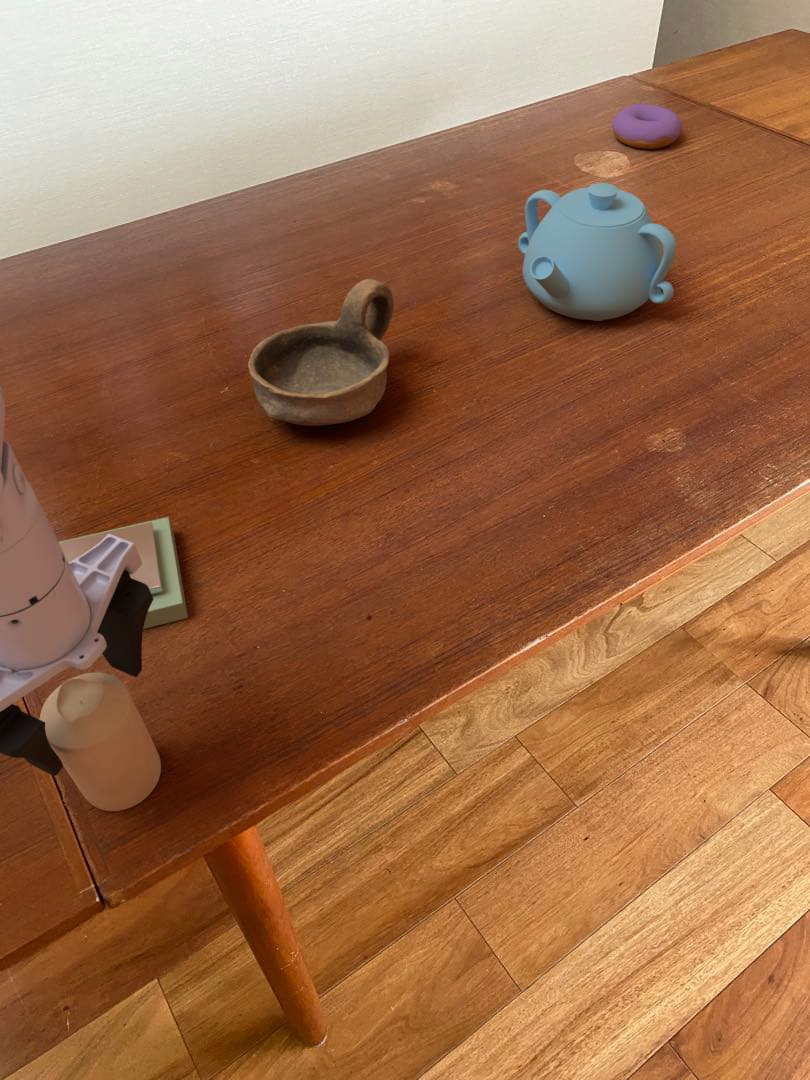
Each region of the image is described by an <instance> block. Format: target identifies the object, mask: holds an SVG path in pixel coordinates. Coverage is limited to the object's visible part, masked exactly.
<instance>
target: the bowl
mask: <svg viewBox="0 0 810 1080" xmlns="http://www.w3.org/2000/svg"><path fill="white" fill-rule="evenodd" d="M394 307H395V306H394V296H393V292H392V289H390V287H389V286H388V285H387V284H385V283H384V282H382V281H380V280H378V279H374V278H366V279H363V280H360V281H359V282H358V283H356V284H355V285H354V286H353V287H352V288H351V289H350V291H348V293H347V294H346V297H345V298H344V301H343V304H342V308H341V310H340V311H341V312H340V315H339V318H338V319H337V320H333V321H332V320H331V321H330V320H329V321H322V322H315V323H307V324H300V325H297V326H293V327H290V328H287V329H283V330H280V331H277V332H275V333H272V334H271V335H270V336H268V337H266V338H264V339H263V340H261V341H260V342H259V343H258V344H256V346H255V347H254V348H253V349H252V351H251V354H250V357H249V359H248V364H247V367H248V372H249V375H250V377H251V379H252V386H253V391H254V394H255V397H256V399H257V402H258V404H259V405H260V407H261V408H262V410H263V411H264V412H265V414H266V415H267V416H268V417H269V418H271V419H272V420H277V421H281V422H286V423H289V424H293V425H299V426H309V427H311V426H313V427H314V426H319V427H320V426H328V425H329V426H330V425H336V424H343V423H348V422H351V421H354V420H357V419H360V418H363V417H365V416H367V415H369V414H370V413H372V411H374V410H375V408H376V406H377V404H378V403H379V402H380V401H381V399H382V398H383V396H384V394H385V391H386V387H387V382H388V381H387V379H388V373H387V372H388V371H387V368H388V365H389V361H390V349H389V348H388V346H387V345H386V344H385V342H383V341H382V340H383V338H384V336H385V334H386V333H387V331H388V329H389V327H390V324H391V320H392V318H393V315H394V314H393V313H394ZM366 312H367V313H366Z"/></svg>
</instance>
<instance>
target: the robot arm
mask: <svg viewBox="0 0 810 1080" xmlns="http://www.w3.org/2000/svg"><path fill="white" fill-rule="evenodd" d="M5 421H6V405H5V395H4V392H3V388H2V386H1V385H0V754H2V755H4V756H8V757H11V758H14V759H24V760H25V761H26V762H27V763H28V764H30V765H31V766H33V767H35V768H37V769H39V770H40V771H43V772H45V773H47V774H49V775H51V776H52V777H55V776H58V774H59V773H60V772H61V770H63V768H64V766H63V764H62V761H61V760H60V758H59V757H58V755H57V754H56V753H55V752H54V750H53V749H52V747H51V746H50V744H49V741H48V739H47V736H46V731H45V724H46V723H45V722H43V721H41V720H40V718H37V717H35V716H33V715H31V714H29V713H27V712H24V711H23V710H22V709H21V708H20V706H19V705H15V704H14V703H16V702H17V701H19V700H20V699H22V698H23V697H25V696H26V695H28V694H30V693H32V691H34V690H36V689H37V688H39V687H40V686H41V685H43V684H44V683H46V682H48V681H50V680H51V679H52V678H54V677H55V676H57V675H58V674H60V673H62V672H63V671H64V670H67V668H71V667H72V668H74V669H77V670H82V671H83V670H87V669H89V668H90V667H91V666H92V665H93V664H94V663H95V662H96V661H97V659H98V658H99V657H100V656H101V655H103V657H104V659H105V660H106V661H107V663H108V664H109V665H110V667H111V668H113V669H115V670H118V671H120V672H122V673H125V674H127V675H129V676H131V677H134V678H137V677H138V676H139V675H140V674H141V672H142V671H143V654H142V652H143V650H142V648H143V632H144V629H143V627H144V623H145V619H146V616H147V613H148V610H149V608H150V605H151V603H152V601H153V597H152V594H151V591H150V589H149V587H148V586H147V585H146V584H144V583H142V582H140V581H137V580H135V579H132V578H131V577H130V574H133V573H135V572H136V571H137V569H138V568H139V567H140V566H141V565H142V561H141V559H140V556H139V554H138V551H137V549H136V546H135V544H134V543H133V542H130V541H127V540H125V539H122V538H120V537H117V536H114V535H112V534H108V535H107V536H106V537H105V538H104V539H103V540H101V541H100V542H99V543H98V544H97V545H95V546H94V547H93V548H92V549H90V550H88V551H87V552H85V553H84V554H82V555H81V556H79V557H77V558H76V559H74V560H72V561H71V562H69V563H68V561H67V559H66V557H65V554H64V552H63V550H62V548H61V546H60V544H59V542H60V541H59V539H58V538H57V536H56V533H55V531H54V530H53V529H54V528H53V527H52V525H51V523H50V521H49V519H48V517H47V515H46V513H45V511H44V508H43V507H42V505H41V502H40V500H39V499H38V497H37V494H36V493H35V490H34V488H33V487H32V485H31V483H30V482H29V481H28V480H27V478H26V476H25V474H24V472H23V469H22V467H21V465H20V463H19V461H18V459H17V457H16V455H15V453H14V450H13V449H12V446H11V445H10V443H9V442H7V441H6V440H4V437H5V436H4V435H5V423H6V422H5Z"/></svg>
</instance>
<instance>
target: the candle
mask: <svg viewBox="0 0 810 1080" xmlns="http://www.w3.org/2000/svg"><path fill="white" fill-rule="evenodd" d="M39 720H41V721H43V722H45V723H46V724H45V731H46V736H47V739H48V741H49V744H50V746H51V748H52V749H53V750H54V752H55V753H56V754H57V755H58V757H59V758H60V760H61V761H62V764H63V768H64V769H65V771H66V772H67V773H68V775H69V777H70V778H71V779H72V781H73V783H74V784H75V786H76V788H78V790H79V792H80V793H81V794H82V796H83V797H84V799H85V800H86V801H87V802H88V803H89V804H90V805H91V806H93V807H95V808H97V809H98V810H101V811H106V812H121V811H125V810H127V809H130V808H133V807H135V806H137V805H138V804H140V803H142V802H143V801H144V800H145V799H147V797H149V795H150V794H151V793H152V792H153V791H154V789H156V786H157V784H158V782H159V780H160V777H161V772H162V762H161V757H160V754H159V752H158V750H157V747H156V745H155V743H154V741H153V739H152V736H151V735H150V732H149V731H148V728H147V727H146V724H145V722H144V720H143V718H142V716H141V714H140V712H139V710H138V708H137V706H136V704H135V702H134V700H133V697H132V694H131V693H130V691H129V688H128V687H127V686H126V684H125V683H124V682H123V681H122V680H121V679H120V678H119V677H116V676H115V675H113V674H110V673H106V672H87V673H83V674H79V675H76V676H74V677H72V678H69V679H66V680H64V682H62V683H61V684H60V685H59V686H57V687H56V688H55V689H54V690H53V691H52V692H51V693H50V694H49V696H48V697H47V698H46V700H45V702H44V703H43V705H42V708H41V711H40V715H39Z"/></svg>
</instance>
